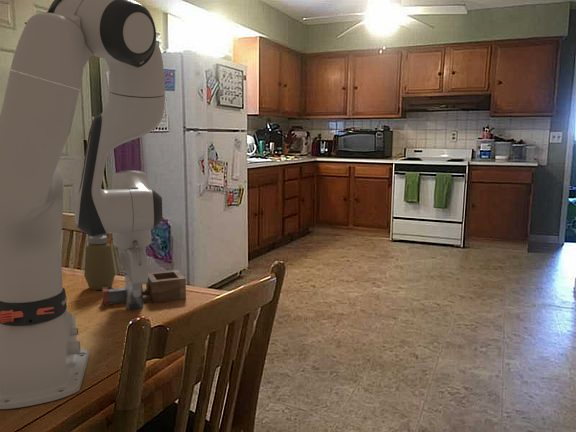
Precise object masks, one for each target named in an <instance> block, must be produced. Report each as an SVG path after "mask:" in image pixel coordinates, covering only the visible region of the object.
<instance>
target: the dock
mask: <svg viewBox="0 0 576 432" xmlns="http://www.w3.org/2000/svg"><path fill="white" fill-rule="evenodd" d="M186 280H187V279H186V277H185V276H184V275H183V274H182V273H181V272H180V270H178V269H174V270H173V269H172V270H165V271H164V270H163V271H154V272H148V282H147V283H146V284H145V289H143V304H144V303H152V304H155V303H164V302H170V301H176V300H185V299H187V287H186V286H187V285H186V284H187V283H186V282H187V281H186Z"/></svg>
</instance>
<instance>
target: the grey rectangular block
mask: <svg viewBox="0 0 576 432" xmlns="http://www.w3.org/2000/svg"><path fill="white" fill-rule="evenodd" d="M101 291H102V292H101V294H102V303H103V306H105V307H106V306H110V305H112V304H119V303H120V304H121V303H126V286H123V287H115V288H107V287H103V288H102V290H101Z"/></svg>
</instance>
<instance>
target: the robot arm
mask: <svg viewBox="0 0 576 432" xmlns="http://www.w3.org/2000/svg"><path fill="white" fill-rule="evenodd" d="M93 56H94V57H96V58H101V59H104V60H105V61H106V64H107V67H108V70H109V74H108V97H107V102H106V105H105V107H104V110H103V111H102V112H101V113H100V114H98V115H96V116H95V117H93V120H92V122H91V123H90V124H91V125H90V128H89V132H88V135H87V136H88V139H87V141H86V142H87V143H86V147H85V154H84V161H83V166H82V173H81V180H80V186H79V190H78V193H77V194H78V196H77V197H76V202H75V203H74V210H73V211H74V212H73V217H74V221H75V225H76V228H78V230H79V231H81V232H82V233H84V234H86V235H87V236H89V237H93V236H99V235H105V236H107V234H108V235H109V234H112V240H113V241H112V244H113V246H114V247H117V252H118V258H119V263H120V265H121V267H122V270H123V269H124V268H125V269H126V271H127V276H128V277H129V279H130V281H131V283H132V294H133V296H134V297H138V296H140V295H141V284H142V285H146V283H147V282H148V273H149V270H148V268H149V267H148V257H147V252H146V250H147V246H150V245H151V244H152V230H153V229H155V228H157V227H158V226H159V225H160V223H161V222H162V221H163V219H164V218H163V197H162V195H160V194H159V193H158V192H157V191H155V190H154V189H150V187H149V183H148V182H149V181H148V176H147V173H146V172H145V171H143V170H142V171H141V170H121V171H117V172H116V173H114V174H113V176H112V180H111V181H112V182H111V183H112V184H111V189H103V188H102V185H103V180H104V179H103V178H104V174H105V167H106V161H107V158H108V156H109V154H110V153H111V151H113V150H114V149H115V148H118V147H119V146H121V145H124V144H125V143H127V142H130V141H133V140H136V139H138V138H142V137H143V136H146V135H148V134H149V133H151V132H152V131H154V130H155V129H156V128H157V127H158V126H159V124H160V123H161V121H162V120H163V116H164V113H165V112H164V111H165V101H166V97H165V96H166V90H165V89H166V85H165V83H166V81H165V68H164V62H163V56H162V51H161V49H160V46H159V45H158V43H157V29H156V24H155V21H154V19H153V16H152V14H151V13H150V11H149V10H148V8H146V7H145V6H143V4H141V3H139V2H137V1H135V0H53V1H52V2H51V4H50V6H49V7H48V10H47V11H46V12H40V13H36V14H34V15H32V16H31V17H30V18H29V19H28V20H27V21H26V23H25V25H24V28H23V30H22V33H21V35H20V36H19V39H18V43H17V44H16V48H15V51H14V54H13V58H12V62H11V65H10V71H9V76H8V79H7V84H6V88H5V93H4V98H3V102H2V106H1V110H0V111H1V112H0V410H9V409H17V408H25V407H30V406H31V407H32V406H36V405H41V404H45V403H49V402H54V401H57V400H61V399H63V398H66V397H70V396H72V395H73V394H75V393H78V392H79V391H80V390H81V387H82V383H83V380H84V376H85V372H86V369H87V365H88V362H89V357H90V353H89V352H90V351H89V350H87V349H85V348H81V341H78V339H77V336H79V328H78V327H77V324H76V322H77V321H76V316H75V315H74V314H72V313H70V312H69V311H68V309H67V307H68V306H67V301H68V300H67V294H66V289H65V288H64V287H63V271H62V258H61V257H62V256H61V255H62V254H61V251H62V250H61V247H62V246H61V243H62V232H63V231H62V230H63V228H62V227H63V215H64V189H65V179H64V175H63V172H62V171H61V169H60V168H59V166H58V163H59V160H60V157H61V155H62V152H63V150H64V146H65V144H66V142H67V140H68V138H69V136H70V134H71V130H72V125H73V121H74V117H75V113H76V109H77V105H78V99H79V95H80V90H81V86H82V82H83V76H84V68H86V67H85V66H86V64H87V63H88V61H90V59H91V58H92V57H93Z"/></svg>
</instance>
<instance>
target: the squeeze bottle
mask: <svg viewBox="0 0 576 432" xmlns="http://www.w3.org/2000/svg"><path fill="white" fill-rule="evenodd" d="M88 241H89V243H88V244H87V245H86V247H85V257H84V278H85V280H86V284H87V285H88V288H89V289H90V290H92V291H93V290H94V291H102V288H103V287H107V288H108V289H111V288H112V286H113V284H114V280H115V277H116V268H115V260H114V256H113V255H114V254H113V248H112V244H110V243H108V236H107V235H99V236H93V237H91V236H89V237H88Z"/></svg>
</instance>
